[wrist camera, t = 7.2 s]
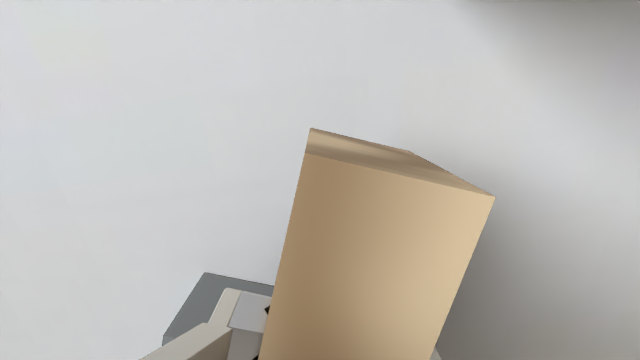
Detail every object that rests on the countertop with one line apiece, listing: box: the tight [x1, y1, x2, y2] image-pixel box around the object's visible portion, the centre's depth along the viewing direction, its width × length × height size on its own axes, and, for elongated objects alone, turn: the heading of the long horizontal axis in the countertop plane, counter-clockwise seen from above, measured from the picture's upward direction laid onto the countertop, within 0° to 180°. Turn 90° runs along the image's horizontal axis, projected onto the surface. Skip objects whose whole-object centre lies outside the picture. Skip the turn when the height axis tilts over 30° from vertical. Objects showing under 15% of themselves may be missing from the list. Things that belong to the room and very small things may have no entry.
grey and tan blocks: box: [258, 128, 496, 360], centre depth 9 cm, size 12×13×5 cm
